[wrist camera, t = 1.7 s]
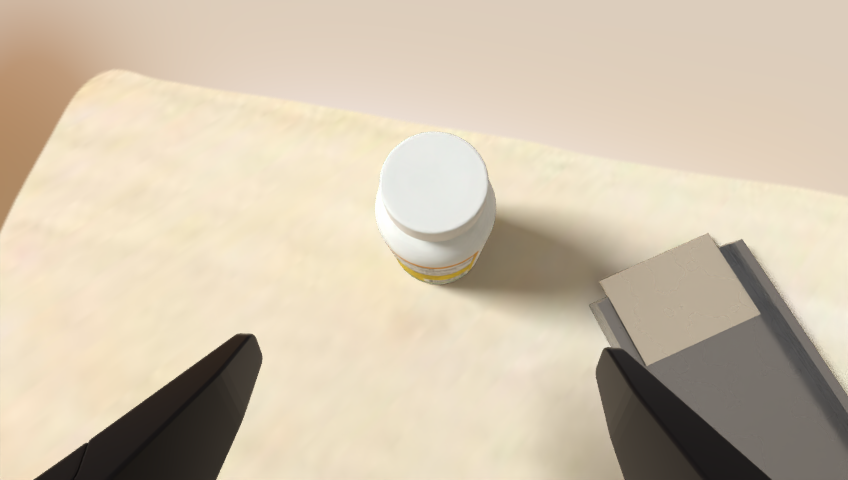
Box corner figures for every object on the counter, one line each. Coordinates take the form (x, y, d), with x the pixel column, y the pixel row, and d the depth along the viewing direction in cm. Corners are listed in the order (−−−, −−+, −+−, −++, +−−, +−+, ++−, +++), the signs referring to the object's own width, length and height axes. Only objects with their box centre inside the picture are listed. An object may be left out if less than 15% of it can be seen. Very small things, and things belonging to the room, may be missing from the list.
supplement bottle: (447, 303, 21) (448, 286, 12) (377, 250, 22) (328, 197, 13) (498, 232, 22) (537, 164, 13) (429, 184, 23) (418, 90, 14)
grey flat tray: (890, 493, 18) (921, 505, 17) (731, 571, 18) (751, 589, 16) (715, 228, 21) (731, 223, 20) (580, 289, 21) (588, 287, 20)
